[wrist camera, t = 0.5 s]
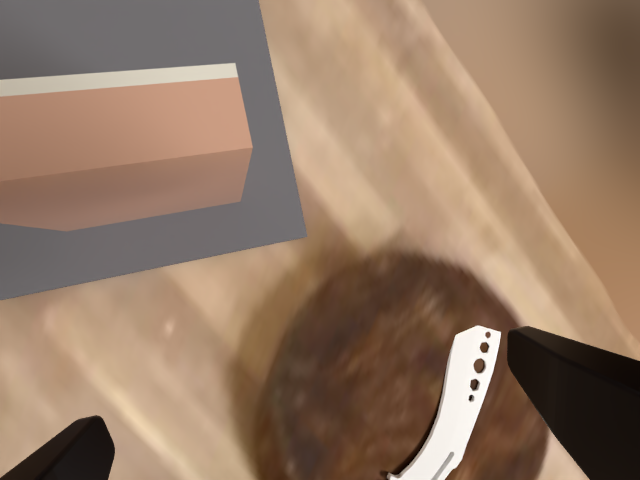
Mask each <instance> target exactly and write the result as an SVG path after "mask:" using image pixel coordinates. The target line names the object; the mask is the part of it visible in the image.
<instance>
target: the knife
mask: <svg viewBox="0 0 640 480" xmlns="http://www.w3.org/2000/svg"><path fill="white" fill-rule="evenodd" d="M487 331H489V332H490V333H491V336H490V338H486V337H485V333H486V332H487ZM500 336H501V332H498V331H495V330H492V329H488V328H485V327H482V326H475V327H473V328H471V329H468V330H466V331H464V332H461V333H459V334H457V335H456V336H455V339H454V342H453V345H452V348H451V351H450V355H449V359H448V363H447V368H446V373H445V380H444V386H443V393H442V397H441V401H440V405H439V410H438V414H437V417H436V419H435V422H434V424H433V427H432V430H431V432H430V435H429V436H428V438H427V440H426V442H425V444H424V445H423V447H422V448H421V450H420V451H419V453H418V454H417V456H416V457H415V458H414V459H413V461H412V462H411V463H410V464H409V465H408V466H407V467H406V468H405V469H404V470H403V471H402V472H401V473H400V474H398V475H393V474H391V473H388V475H387V478H388V480H431V479H432V480H445V478H446V477H447V476H448V474H449V473H450V472H451V470H452V469H454V468H456V467H457V466H458V464H459V463H460V461H461V460H462V457H463V454H464V451H465V448H466V445H467V442H468V440H469V437H470V435H471V432H472V429H473V427H474V424H475V421H476V419H477V416H478V413H479V411H480V408H481V405H482V403H483V400H484V397H485V394H486V391H487V388H488V385H489V382H490V379H491V376H492V373H493V369H494V365H495V361H496V357H497V352H498V348H499V342H500ZM481 342H487V344H488V346H489V348H488V350H487V353H482V352H481V350H480V349H479V348H480V345H481ZM479 358H481V359H482V360H484V364H485V368H484V369H483V371H482V372H481V373H476V372H475V371H474V366H473V364H474V362H475V360H476V359H479ZM473 379H476V380H477V381H478V382H479V383H478V386H477V389H475V390H472V389H471V388H470V382H471V380H473ZM469 396H472V400H470V401H469V400H468V399H469ZM450 452H451V454H450ZM449 454H450V455H449ZM448 456H449V457H448ZM447 457H448V458H447ZM446 459H447V460H446ZM445 460H446V461H445ZM443 463H444V464H443ZM442 464H443V465H442ZM440 467H441V468H440ZM437 471H438V472H437ZM434 475H435V476H434Z"/></svg>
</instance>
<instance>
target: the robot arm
mask: <svg viewBox="0 0 640 480" xmlns="http://www.w3.org/2000/svg"><path fill="white" fill-rule="evenodd" d="M507 361H508V365H509V368H510V370H511V372H512V373H513V375H514V376H515V378H516V379H517V381H518V382H519V384H520V385H521V387H522V388H523V390H524V391H525V393H526V394H527V396H528V397H529V399H530V400H531V402H532V403H533V405H534V406H535V408H536V409H537V411H538V412H539V414H540V415H541V417H542V418H543V420H544V421H545V423H546V424H547V426H548V427H549V428H550V430H551V431H552V433H553V434H554V435H555V437H556V438H557V439H558V441H559V442H560V443H561V444H562V446H563V447H564V448H565V449H566V451H567V452H568V453H569V454H570V456H571V457H572V458H573V459H574V461H575V462H576V463H577V464H578V466H579V467H580V468H581V469H582V471H583V472H584V473H585V474H586V476H587V477H588V478H589V479H590V480H640V361H638V360H635V359H632V358H628V357H625V356H622V355H619V354H616V353H613V352H609V351H606V350H603V349H600V348H597V347H593V346H590V345H587V344H584V343H581V342H578V341H574V340H571V339H568V338H565V337H562V336H558V335H555V334H552V333H549V332H546V331H543V330H539V329H536V328H533V327H530V326H524V327H519V328H514V329H511V330H510V331H509V332H508V344H507ZM114 455H115V447H114V443H113V440H112V438H111V436H110V433H109V431H108V429H107V427H106V424H105V422H104V420H103V418H102V417H100V416H97V415H95V416H91V417H86V418H81V419H78V420H76V421H75V422H73V423H72V424H71V425H69V426H68V427H67V428H65V429H64V430H63V431H61V432H60V433H59V434H57V435H56V436H55V437H54V438H52V439H51V440H50V441H48V442H47V443H46V444H44V445H43V446H42V447H40V448H39V449H38V450H36V451H35V452H34V453H32V454H31V455H30V456H29V457H27V458H26V459H25V460H23V461H22V462H21V463H19V464H18V465H17V466H15V467H14V468H13V469H11V470H10V471H9V472H7V473H6V474H5V475H3V476H2V477H1V478H0V480H108V478H109V474H110V470H111V467H112V463H113V460H114Z"/></svg>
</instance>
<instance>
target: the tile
mask: <svg viewBox="0 0 640 480" xmlns="http://www.w3.org/2000/svg"><path fill="white" fill-rule="evenodd" d="M252 149H253V146H252V141H251V136H250V131H249V127H248V122H247V117H246V112H245V108H244V103H243V98H242V93H241V88H240V84H239V79H238V74H237V69H236V64H235V63H227V64H213V65H200V66H186V67H172V68H158V69H144V70H130V71H116V72H102V73H88V74H74V75H60V76H46V77H32V78H19V79H5V80H0V223H2V224H10V225H18V226H26V227H34V228H42V229H50V230H58V231H66V232H67V231H73V230H78V229H84V228H90V227H96V226H102V225H107V224H113V223H119V222H125V221H131V220H137V219H142V218H148V217H154V216H160V215H166V214H171V213H177V212H183V211H189V210H195V209H201V208H206V207H212V206H218V205H224V204H230V203H235V202H241V197H242V193H243V188H244V184H245V180H246V175H247V171H248V167H249V162H250V158H251V153H252Z"/></svg>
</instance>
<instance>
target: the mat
mask: <svg viewBox="0 0 640 480" xmlns="http://www.w3.org/2000/svg"><path fill="white" fill-rule="evenodd" d="M227 63H235V64H236V69H237V74H238V79H239V84H240V88H241V93H242V98H243V103H244V108H245V112H246V117H247V122H248V127H249V131H250V136H251V141H252V146H253V149H252V153H251V158H250V162H249V167H248V171H247V175H246V180H245V184H244V188H243V193H242V197H241V202H235V203H230V204H224V205H218V206H212V207H206V208H201V209H195V210H189V211H183V212H177V213H171V214H166V215H160V216H154V217H148V218H142V219H137V220H131V221H125V222H119V223H113V224H107V225H102V226H96V227H90V228H84V229H78V230H73V231H67V232H66V231H58V230H50V229H42V228H34V227H26V226H18V225H10V224H2V223H0V300H4V299H9V298H14V297H18V296H23V295H28V294H33V293H38V292H43V291H47V290H52V289H57V288H62V287H67V286H72V285H76V284H81V283H86V282H91V281H96V280H101V279H105V278H110V277H115V276H120V275H125V274H130V273H134V272H139V271H144V270H149V269H154V268H159V267H163V266H168V265H173V264H178V263H183V262H188V261H192V260H197V259H202V258H207V257H212V256H217V255H221V254H226V253H231V252H236V251H241V250H246V249H250V248H255V247H260V246H265V245H270V244H275V243H279V242H284V241H289V240H294V239H299V238H303V237H307V233H306V228H305V223H304V218H303V213H302V208H301V203H300V199H299V194H298V189H297V184H296V179H295V174H294V170H293V165H292V160H291V155H290V150H289V145H288V141H287V136H286V131H285V126H284V121H283V116H282V112H281V107H280V102H279V97H278V92H277V87H276V83H275V78H274V73H273V68H272V63H271V58H270V54H269V49H268V44H267V39H266V34H265V29H264V25H263V20H262V15H261V10H260V5H259V0H0V80H5V79H19V78H32V77H46V76H60V75H74V74H88V73H102V72H116V71H130V70H144V69H158V68H172V67H186V66H200V65H213V64H227Z"/></svg>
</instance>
